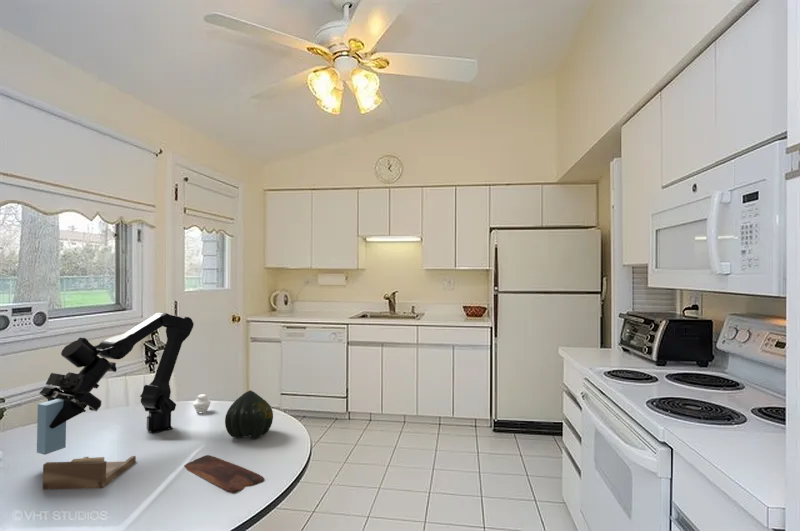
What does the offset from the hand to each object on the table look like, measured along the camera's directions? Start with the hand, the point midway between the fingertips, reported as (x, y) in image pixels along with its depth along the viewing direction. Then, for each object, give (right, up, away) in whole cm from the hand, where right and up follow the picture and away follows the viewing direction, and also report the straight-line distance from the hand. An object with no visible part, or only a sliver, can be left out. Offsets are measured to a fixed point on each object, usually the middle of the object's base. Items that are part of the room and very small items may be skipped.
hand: (46, 426), depth 115 cm
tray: (+15, -12, -3) cm, 19 cm away
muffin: (+18, -14, +50) cm, 55 cm away
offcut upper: (+16, -9, -7) cm, 19 cm away
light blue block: (0, -7, +1) cm, 7 cm away
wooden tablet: (+47, -13, +1) cm, 49 cm away
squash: (+45, -13, +27) cm, 54 cm away
